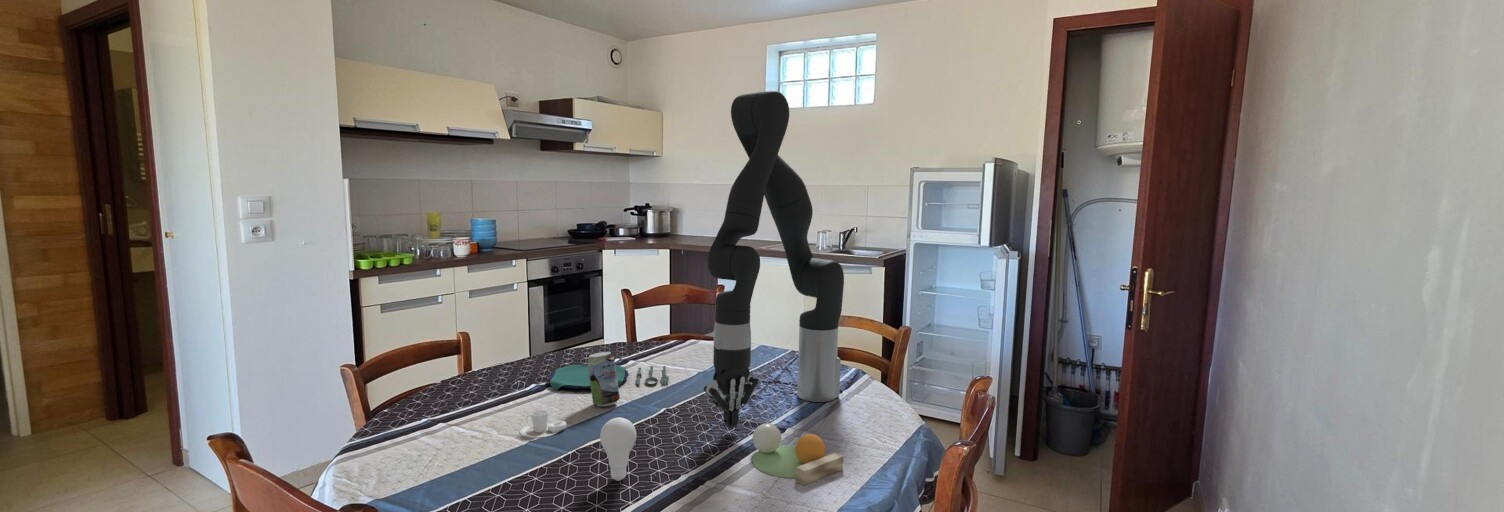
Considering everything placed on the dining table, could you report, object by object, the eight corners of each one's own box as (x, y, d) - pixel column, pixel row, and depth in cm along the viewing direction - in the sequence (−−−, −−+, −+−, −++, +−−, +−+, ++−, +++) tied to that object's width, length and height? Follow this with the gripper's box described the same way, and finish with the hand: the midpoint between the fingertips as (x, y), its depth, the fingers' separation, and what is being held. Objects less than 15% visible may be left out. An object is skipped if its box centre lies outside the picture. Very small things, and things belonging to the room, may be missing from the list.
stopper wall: (834, 465, 125) (834, 452, 124) (842, 469, 123) (843, 456, 123) (795, 481, 118) (795, 467, 118) (803, 485, 117) (804, 471, 116)
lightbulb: (602, 472, 120) (602, 412, 119) (637, 472, 120) (637, 412, 119) (598, 488, 114) (597, 425, 113) (634, 487, 114) (634, 424, 113)
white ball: (784, 451, 132) (765, 433, 135) (789, 430, 129) (769, 413, 132) (764, 463, 128) (744, 445, 131) (769, 443, 125) (749, 425, 128)
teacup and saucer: (571, 428, 141) (571, 409, 141) (548, 442, 134) (548, 422, 133) (536, 423, 144) (535, 404, 144) (511, 436, 137) (510, 416, 136)
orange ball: (822, 462, 128) (810, 434, 130) (835, 454, 123) (822, 426, 125) (798, 472, 125) (785, 444, 127) (810, 465, 120) (797, 435, 123)
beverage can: (613, 410, 151) (613, 357, 150) (582, 407, 153) (582, 355, 151) (624, 401, 157) (624, 350, 156) (594, 398, 159) (594, 348, 157)
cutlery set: (554, 371, 181) (554, 363, 181) (667, 369, 185) (667, 361, 185) (542, 395, 162) (542, 386, 161) (669, 392, 166) (669, 383, 166)
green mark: (803, 441, 136) (803, 440, 136) (842, 469, 123) (842, 468, 123) (739, 453, 129) (739, 452, 129) (774, 483, 117) (774, 482, 117)
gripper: (745, 335, 144) (743, 414, 146) (694, 344, 136) (693, 428, 138) (769, 342, 139) (767, 424, 141) (717, 352, 130) (716, 439, 132)
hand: (730, 426), depth 139 cm, fingers closed
